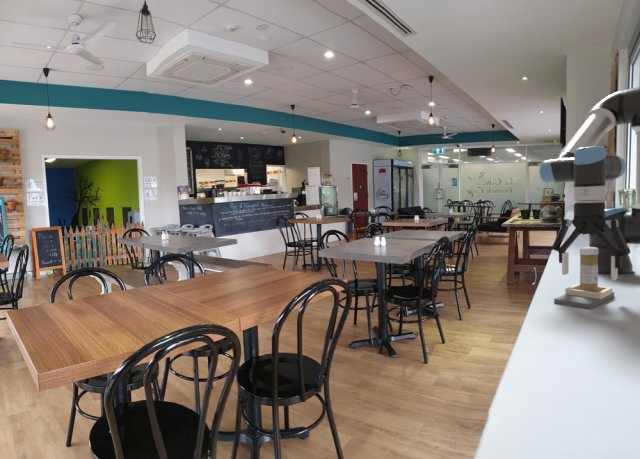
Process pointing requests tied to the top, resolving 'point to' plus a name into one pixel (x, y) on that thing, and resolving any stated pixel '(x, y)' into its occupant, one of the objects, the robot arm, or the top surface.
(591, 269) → the sprinkles bottle
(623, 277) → the top surface
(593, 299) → the slate base board
